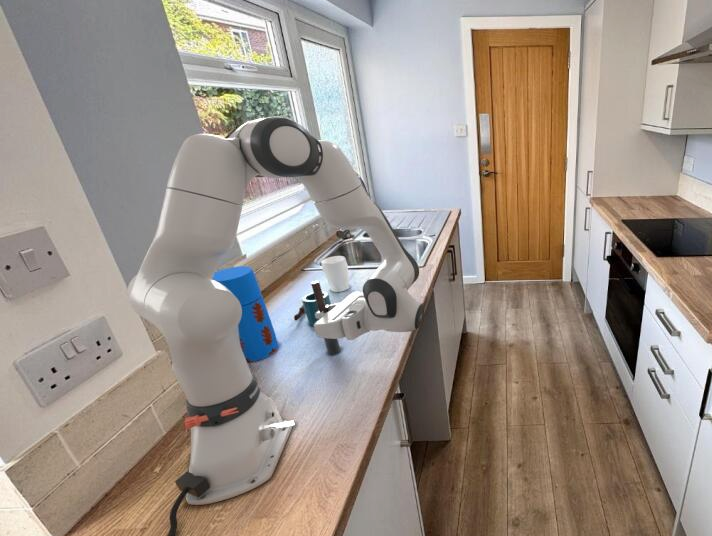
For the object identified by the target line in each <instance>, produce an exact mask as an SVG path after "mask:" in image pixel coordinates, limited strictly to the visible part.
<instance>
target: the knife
mask: <svg viewBox="0 0 712 536" xmlns="http://www.w3.org/2000/svg"><path fill="white" fill-rule="evenodd" d="M305 313H306V312H305V309H304V305H303V304H302V305H301V307H299V310H298V312H297V313H296V314H295V315H294V316H293V319H294V321H296V322H297V321H298V320H299V319H300V318H301V317H302V316H303V314H305Z"/></svg>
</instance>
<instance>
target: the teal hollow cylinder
mask: <svg viewBox="0 0 712 536" xmlns="http://www.w3.org/2000/svg"><path fill="white" fill-rule="evenodd" d="M322 294H323V298H324V301H325V305H332V304H331V299H330V295H329V293H328V292H327V291H325V290H322ZM301 302H302V305H304V309H305V312H304V313H305V315H306V318H307V321H308V324H309V325H310V326H311V327H314V324H315V323H316V322H317V321H318V320H319V319H317V318H316V317H315V313H316V312H317V311H319V310H318V306H317V303H316V299H315V295H314V292H310V293H307V294H305V295H304V296H303V297H302V298H301Z"/></svg>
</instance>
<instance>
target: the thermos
mask: <svg viewBox="0 0 712 536" xmlns="http://www.w3.org/2000/svg"><path fill="white" fill-rule="evenodd" d="M213 280H214V281H216V282H219V283H221V284H222V285H224V286H225V287H226V288H227V289H229V290H230V291H231V292H232V293H233V294H234V295H235V297H236V298H237V299H238V300H239V302H240V304H241V308H242V316H241V320H240V322H239V324H238V331H239V340H240V345H241V348H242V351H243V354H244V356H245V359H246V361H247V363H248V362H249V363H250V362H257V361H260V360H263V359H265V358H268V357H269V356H271V355H273V354H274V353H276V351H278V349H279V343H278V338H277V335H276V332H275V329H274V326H273V323H272V320H271V318H270V314H269V312H268V308H267V306H266V305H267V304H266V303H265V300H264V297H263V294H262V291H261V289H260V285H259V282H258V279H257V277H256V274H255V272H254V269H253V268H252V267H250V266H245V265H243V266H242V265H241V266H240V265H239V266H233V267H232V266H231V267H228V268H224V269H220V270H216V271H215V273H214V276H213Z"/></svg>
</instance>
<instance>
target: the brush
mask: <svg viewBox="0 0 712 536" xmlns="http://www.w3.org/2000/svg"><path fill="white" fill-rule="evenodd" d="M320 283H321V282H320V281H319V280H314V281H311V282H310V285H311V289H312V291H313V292H314V295H315V299H316V303H317V306H318V310H319V311H323V312H324V313H328V312H327V309H326V305H325V301H324V298H323V294H322V291H323V290H322V286H321V284H320ZM313 292H312V293H313ZM323 340H324V344H325V347H326V351H327V353H328V355H335V354H338V353H339V352H341V347H340V343H339V339H330V338H323Z"/></svg>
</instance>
